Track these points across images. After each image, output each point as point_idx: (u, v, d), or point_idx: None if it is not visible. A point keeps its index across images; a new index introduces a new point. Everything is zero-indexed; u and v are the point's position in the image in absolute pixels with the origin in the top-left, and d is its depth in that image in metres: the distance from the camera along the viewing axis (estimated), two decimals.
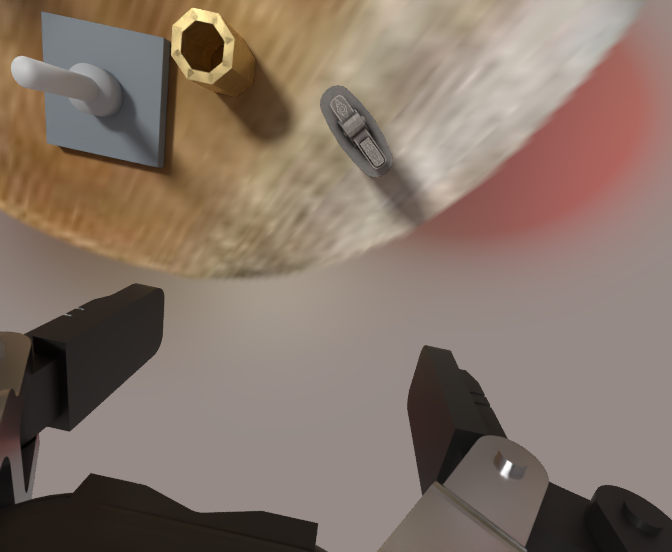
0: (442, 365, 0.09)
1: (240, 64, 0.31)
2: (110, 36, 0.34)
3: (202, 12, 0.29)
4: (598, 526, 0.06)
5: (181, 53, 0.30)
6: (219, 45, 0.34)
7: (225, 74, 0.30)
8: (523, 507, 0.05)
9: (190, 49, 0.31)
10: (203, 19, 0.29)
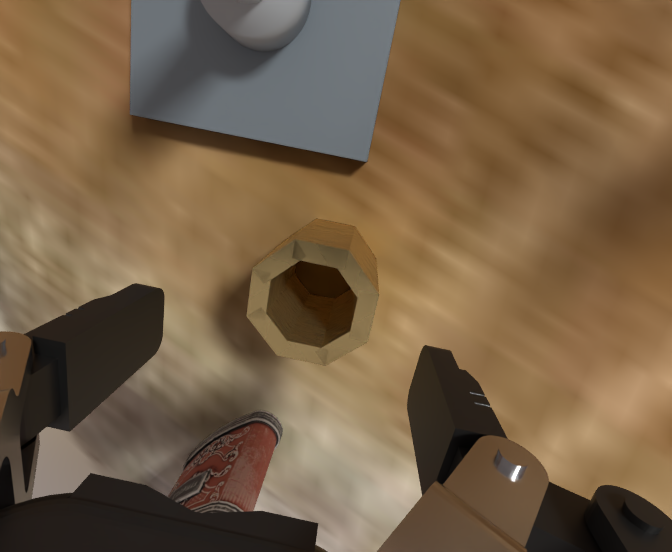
0: (442, 365, 0.09)
1: None
2: (372, 37, 0.16)
3: (370, 313, 0.14)
4: (598, 526, 0.06)
5: (299, 260, 0.14)
6: None
7: (268, 339, 0.16)
8: (523, 507, 0.05)
9: None
10: (358, 313, 0.15)
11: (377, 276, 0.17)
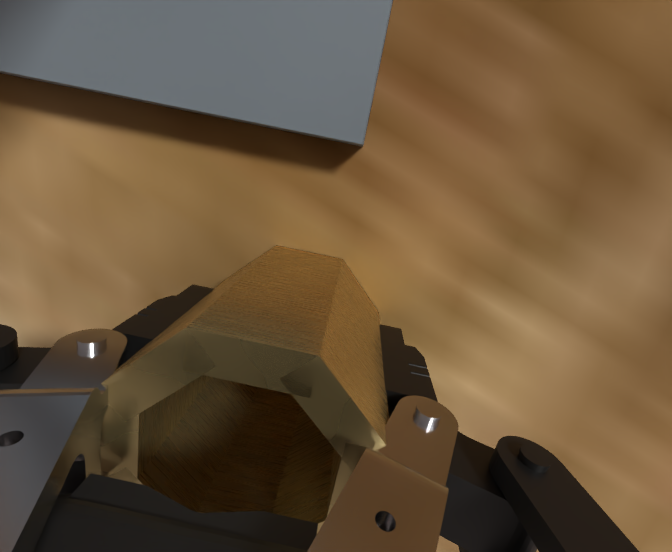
0: (389, 340, 0.10)
1: None
2: None
3: None
4: (501, 476, 0.06)
5: None
6: None
7: None
8: (426, 449, 0.06)
9: None
10: None
11: None
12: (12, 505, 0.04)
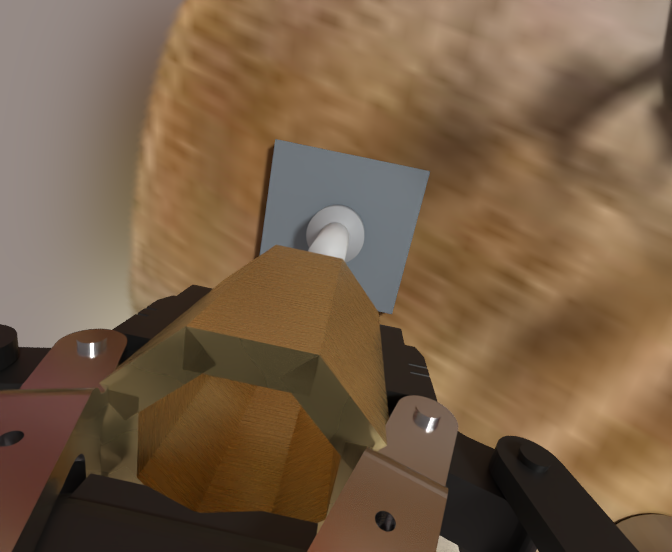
0: (388, 340, 0.10)
1: None
2: (396, 254, 0.29)
3: None
4: (501, 476, 0.06)
5: None
6: None
7: None
8: (426, 449, 0.06)
9: None
10: (342, 487, 0.06)
11: (383, 370, 0.08)
12: (13, 506, 0.04)
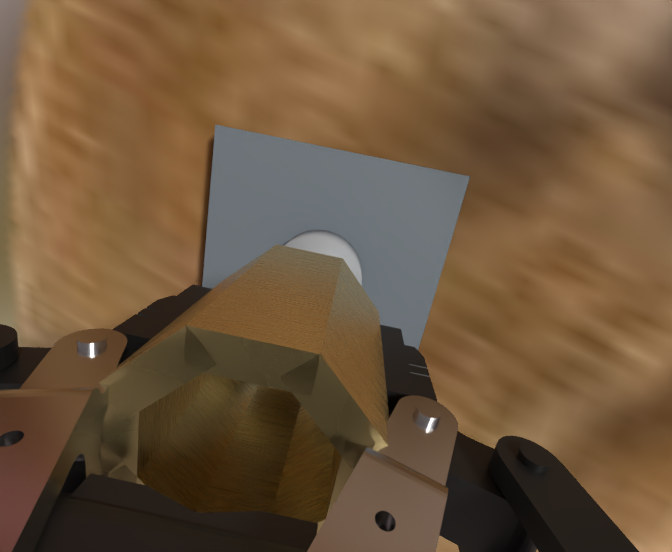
0: (388, 340, 0.10)
1: None
2: (413, 307, 0.18)
3: None
4: (501, 476, 0.06)
5: None
6: None
7: None
8: (425, 449, 0.06)
9: None
10: (343, 487, 0.06)
11: None
12: (12, 505, 0.04)
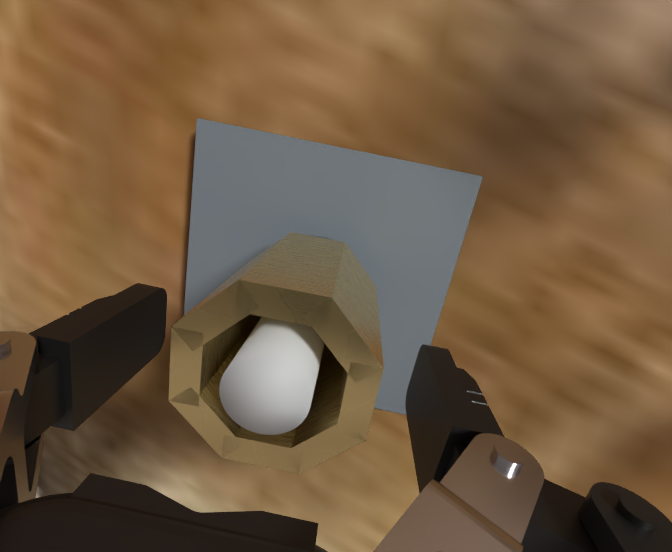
0: (440, 364, 0.09)
1: None
2: (418, 320, 0.17)
3: (369, 397, 0.09)
4: (594, 523, 0.06)
5: (249, 312, 0.08)
6: None
7: (207, 431, 0.10)
8: (519, 503, 0.05)
9: None
10: (349, 397, 0.09)
11: (379, 323, 0.11)
12: None
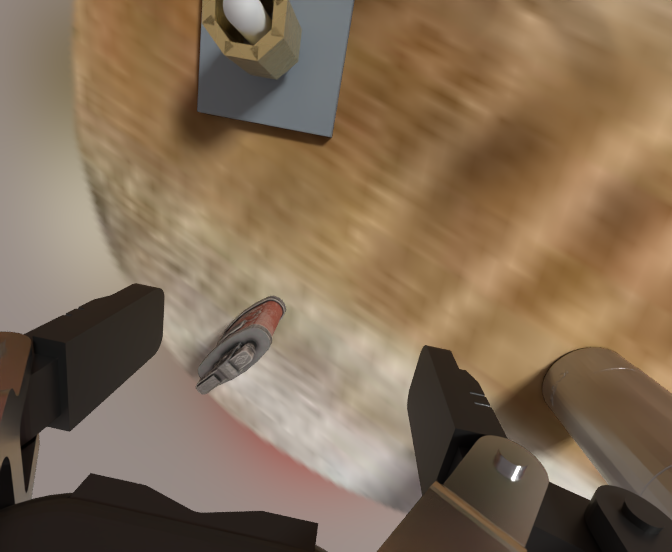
0: (442, 365, 0.09)
1: (244, 64, 0.25)
2: (331, 69, 0.30)
3: (283, 12, 0.22)
4: (598, 526, 0.06)
5: None
6: None
7: (218, 45, 0.23)
8: (523, 507, 0.05)
9: None
10: (275, 13, 0.22)
11: None
12: None
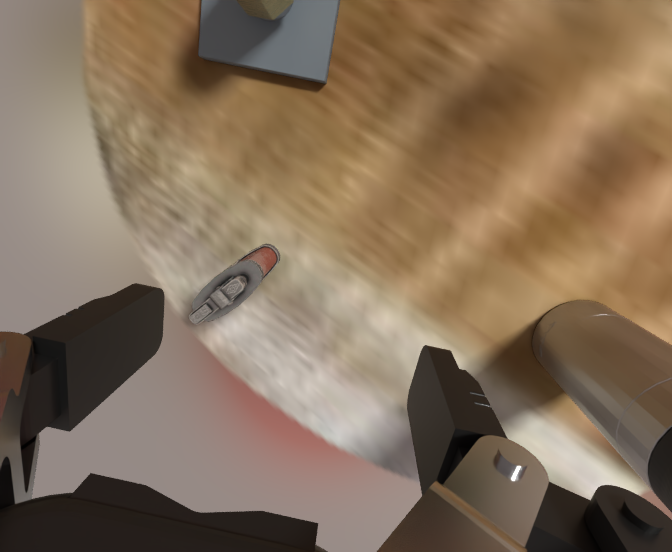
0: (442, 365, 0.09)
1: None
2: (325, 14, 0.31)
3: None
4: (598, 526, 0.06)
5: None
6: None
7: None
8: (523, 507, 0.05)
9: None
10: None
11: None
12: None
